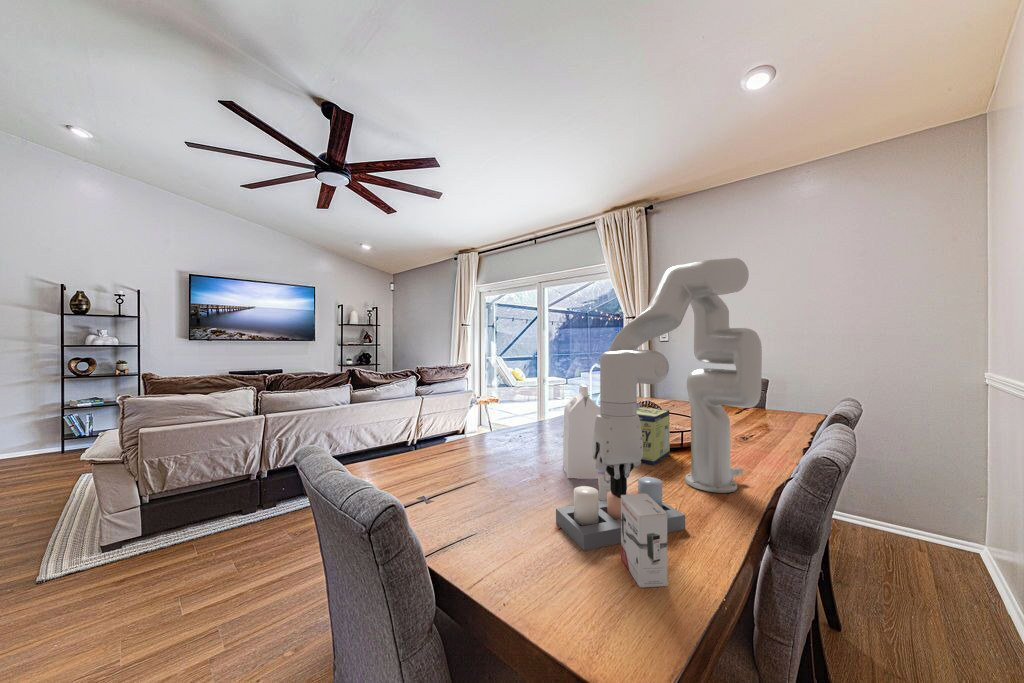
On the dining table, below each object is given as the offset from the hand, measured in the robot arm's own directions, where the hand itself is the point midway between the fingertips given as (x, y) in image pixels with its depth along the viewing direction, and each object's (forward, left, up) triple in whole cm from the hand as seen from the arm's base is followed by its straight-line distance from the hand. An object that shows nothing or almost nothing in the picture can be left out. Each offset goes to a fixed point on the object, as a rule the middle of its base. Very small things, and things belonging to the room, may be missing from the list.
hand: (618, 495), depth 80 cm
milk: (-10, -32, -7) cm, 34 cm away
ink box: (+6, +15, -7) cm, 17 cm away
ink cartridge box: (-7, -15, -7) cm, 18 cm away
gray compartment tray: (0, 0, -7) cm, 7 cm away
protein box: (-37, -37, -7) cm, 53 cm away
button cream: (+8, 0, -4) cm, 9 cm away
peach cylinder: (0, 0, -6) cm, 6 cm away
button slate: (-8, 0, -4) cm, 9 cm away
